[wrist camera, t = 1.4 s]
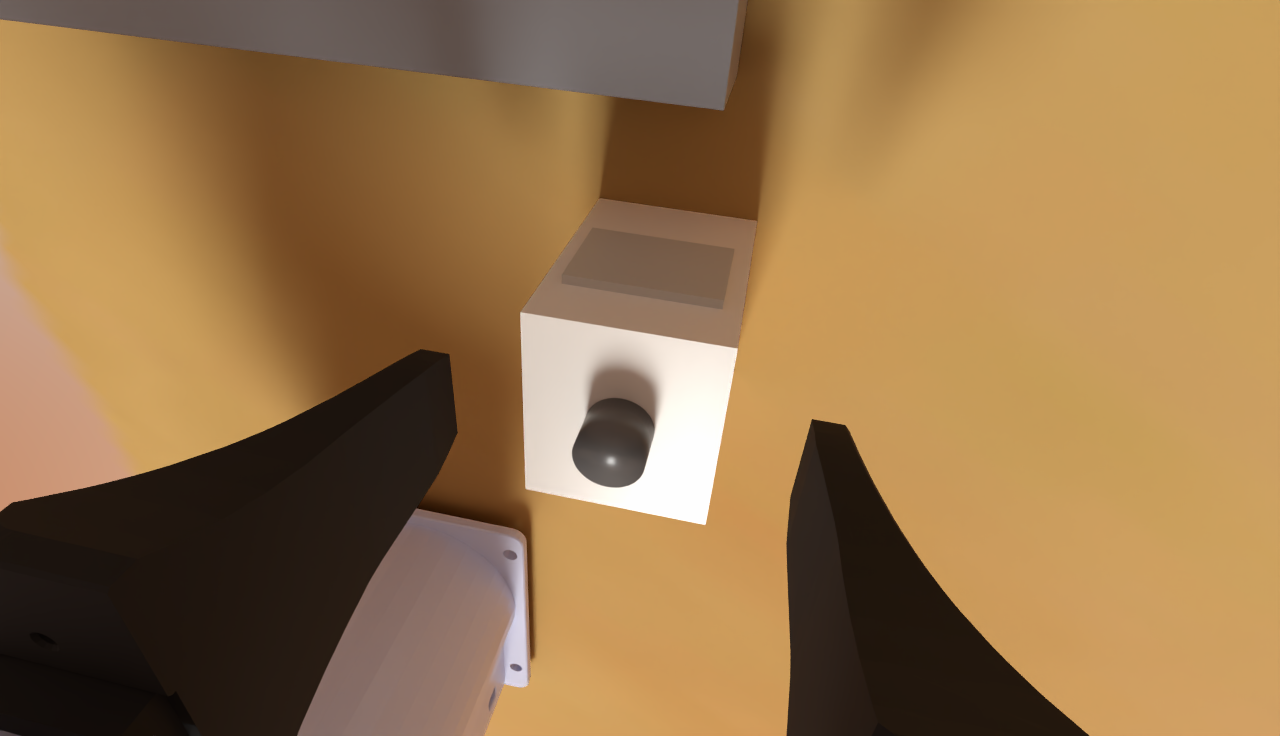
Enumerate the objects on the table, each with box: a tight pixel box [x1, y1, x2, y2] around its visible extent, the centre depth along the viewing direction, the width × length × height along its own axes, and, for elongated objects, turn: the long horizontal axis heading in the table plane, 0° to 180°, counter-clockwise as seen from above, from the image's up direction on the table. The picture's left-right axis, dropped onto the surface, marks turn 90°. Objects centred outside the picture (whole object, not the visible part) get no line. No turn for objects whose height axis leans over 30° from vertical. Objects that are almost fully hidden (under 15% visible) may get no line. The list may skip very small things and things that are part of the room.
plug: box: [520, 198, 757, 525], centre depth 16 cm, size 5×4×7 cm
